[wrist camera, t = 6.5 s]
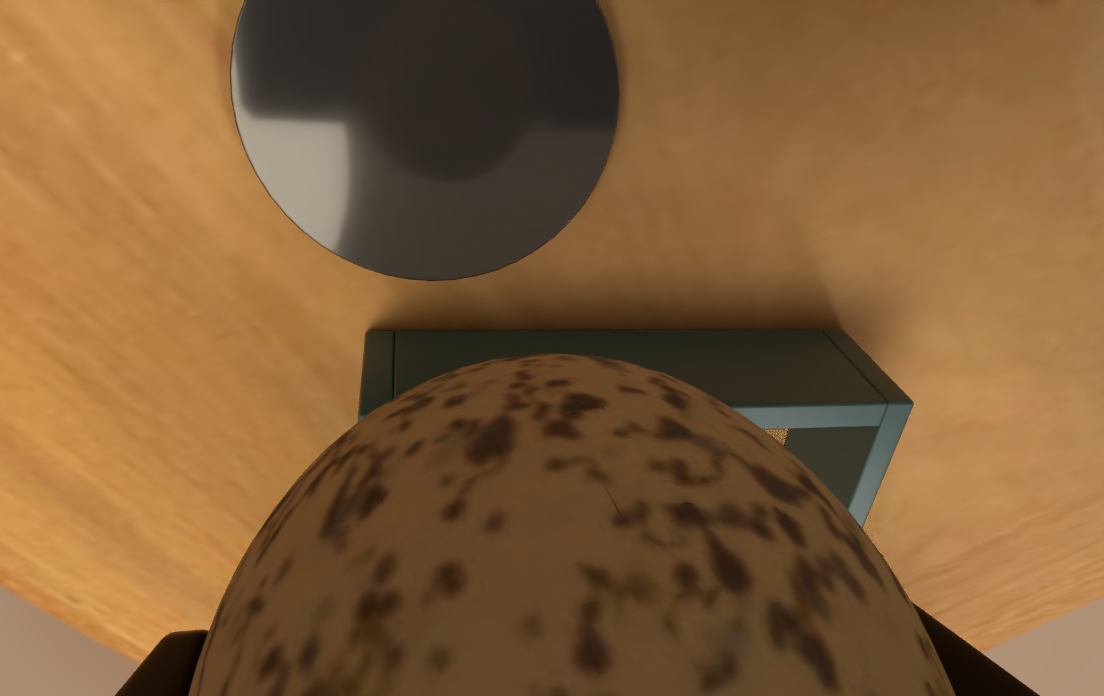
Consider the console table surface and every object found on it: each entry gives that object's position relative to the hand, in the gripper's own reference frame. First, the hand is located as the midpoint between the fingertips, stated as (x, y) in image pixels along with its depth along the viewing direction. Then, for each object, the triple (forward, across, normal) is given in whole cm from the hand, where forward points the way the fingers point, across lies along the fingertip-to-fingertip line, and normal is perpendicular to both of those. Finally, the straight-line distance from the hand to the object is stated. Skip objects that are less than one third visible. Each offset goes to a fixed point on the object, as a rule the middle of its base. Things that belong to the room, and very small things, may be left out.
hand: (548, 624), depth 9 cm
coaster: (+13, +1, -3) cm, 13 cm away
